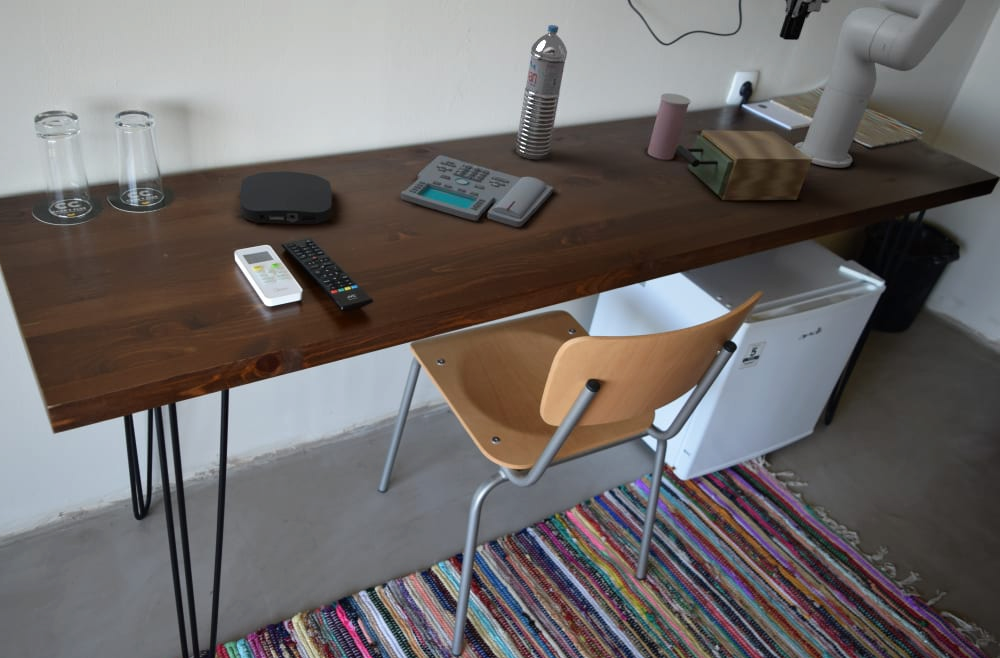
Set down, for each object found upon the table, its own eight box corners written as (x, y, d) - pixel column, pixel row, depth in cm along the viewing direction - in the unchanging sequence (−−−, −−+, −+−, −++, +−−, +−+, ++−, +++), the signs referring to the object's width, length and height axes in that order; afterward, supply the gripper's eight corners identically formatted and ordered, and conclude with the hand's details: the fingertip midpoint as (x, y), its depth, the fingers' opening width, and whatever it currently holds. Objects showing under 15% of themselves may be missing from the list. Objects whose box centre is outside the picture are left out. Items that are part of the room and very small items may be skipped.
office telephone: (555, 179, 149) (521, 221, 134) (552, 192, 151) (519, 235, 135) (440, 148, 155) (395, 184, 139) (439, 160, 156) (394, 198, 141)
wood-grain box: (723, 200, 156) (737, 158, 151) (690, 170, 167) (702, 129, 162) (796, 199, 160) (812, 159, 155) (759, 170, 171) (773, 131, 166)
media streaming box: (329, 187, 142) (329, 171, 140) (332, 226, 130) (333, 209, 128) (243, 184, 139) (242, 168, 137) (239, 224, 127) (238, 207, 125)
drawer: (691, 194, 154) (702, 161, 150) (662, 167, 164) (671, 134, 160) (786, 194, 160) (798, 162, 156) (753, 167, 170) (763, 136, 166)
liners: (657, 147, 176) (671, 91, 169) (680, 156, 173) (696, 100, 165) (641, 152, 172) (655, 96, 165) (664, 162, 169) (679, 105, 162)
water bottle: (546, 163, 161) (569, 33, 147) (512, 157, 162) (533, 27, 147) (550, 151, 167) (573, 25, 152) (517, 145, 168) (537, 19, 153)
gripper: (869, -61, 135) (829, 51, 146) (818, -79, 146) (784, 27, 157) (830, -64, 133) (793, 50, 144) (782, -81, 144) (750, 26, 155)
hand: (788, 38), depth 151 cm, fingers closed
